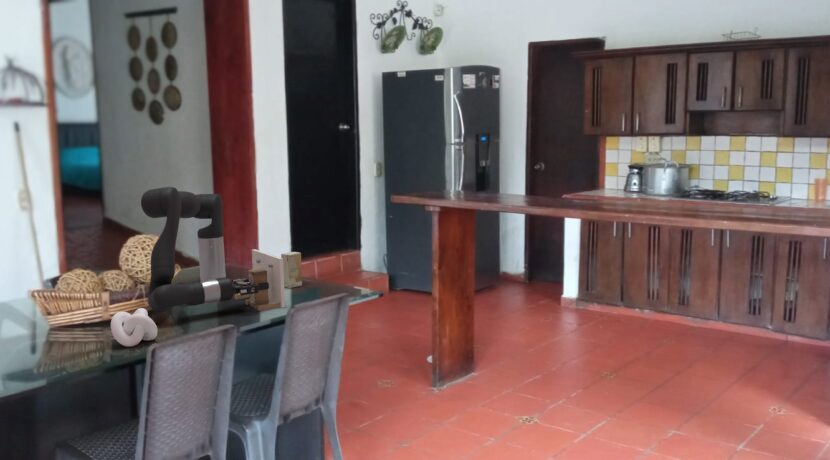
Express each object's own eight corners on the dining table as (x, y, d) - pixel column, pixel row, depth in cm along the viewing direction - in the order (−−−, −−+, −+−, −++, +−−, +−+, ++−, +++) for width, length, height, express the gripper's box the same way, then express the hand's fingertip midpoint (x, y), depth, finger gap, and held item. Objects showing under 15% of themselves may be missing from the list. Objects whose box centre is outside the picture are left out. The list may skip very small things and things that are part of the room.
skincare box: (290, 288, 276) (288, 255, 274) (281, 287, 279) (280, 253, 277) (303, 285, 281) (301, 252, 279) (294, 283, 284) (293, 251, 282)
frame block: (249, 306, 252) (247, 270, 250) (263, 304, 255) (261, 268, 253) (255, 309, 248) (253, 272, 246) (268, 306, 251) (266, 270, 249)
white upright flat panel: (233, 298, 263) (231, 252, 261) (257, 294, 268) (255, 249, 265) (260, 311, 245) (257, 262, 243) (285, 306, 250) (282, 258, 248)
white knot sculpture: (112, 339, 219) (110, 308, 217) (157, 333, 223) (154, 303, 222) (112, 350, 208) (109, 318, 207) (158, 344, 212) (156, 313, 211)
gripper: (222, 282, 236) (271, 275, 245) (206, 275, 247) (253, 268, 257) (224, 306, 237) (272, 298, 246) (207, 298, 249) (254, 290, 258)
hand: (263, 283), depth 251 cm, fingers open, 8 cm apart
